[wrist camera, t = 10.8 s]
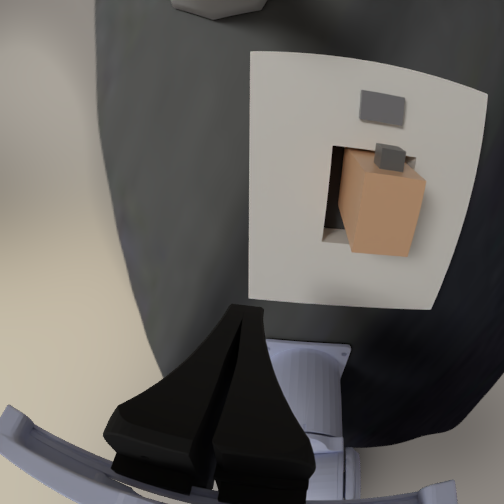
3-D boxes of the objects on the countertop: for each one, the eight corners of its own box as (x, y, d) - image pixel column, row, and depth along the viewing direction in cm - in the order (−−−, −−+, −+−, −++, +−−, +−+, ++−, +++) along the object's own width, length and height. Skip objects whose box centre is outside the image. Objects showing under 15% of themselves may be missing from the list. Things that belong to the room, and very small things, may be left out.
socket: (423, 293, 22) (432, 313, 20) (252, 281, 23) (247, 301, 21) (471, 91, 13) (491, 94, 11) (255, 54, 15) (249, 50, 13)
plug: (380, 208, 19) (407, 257, 14) (337, 204, 19) (351, 252, 14) (392, 135, 16) (430, 160, 11) (346, 128, 17) (368, 149, 11)
